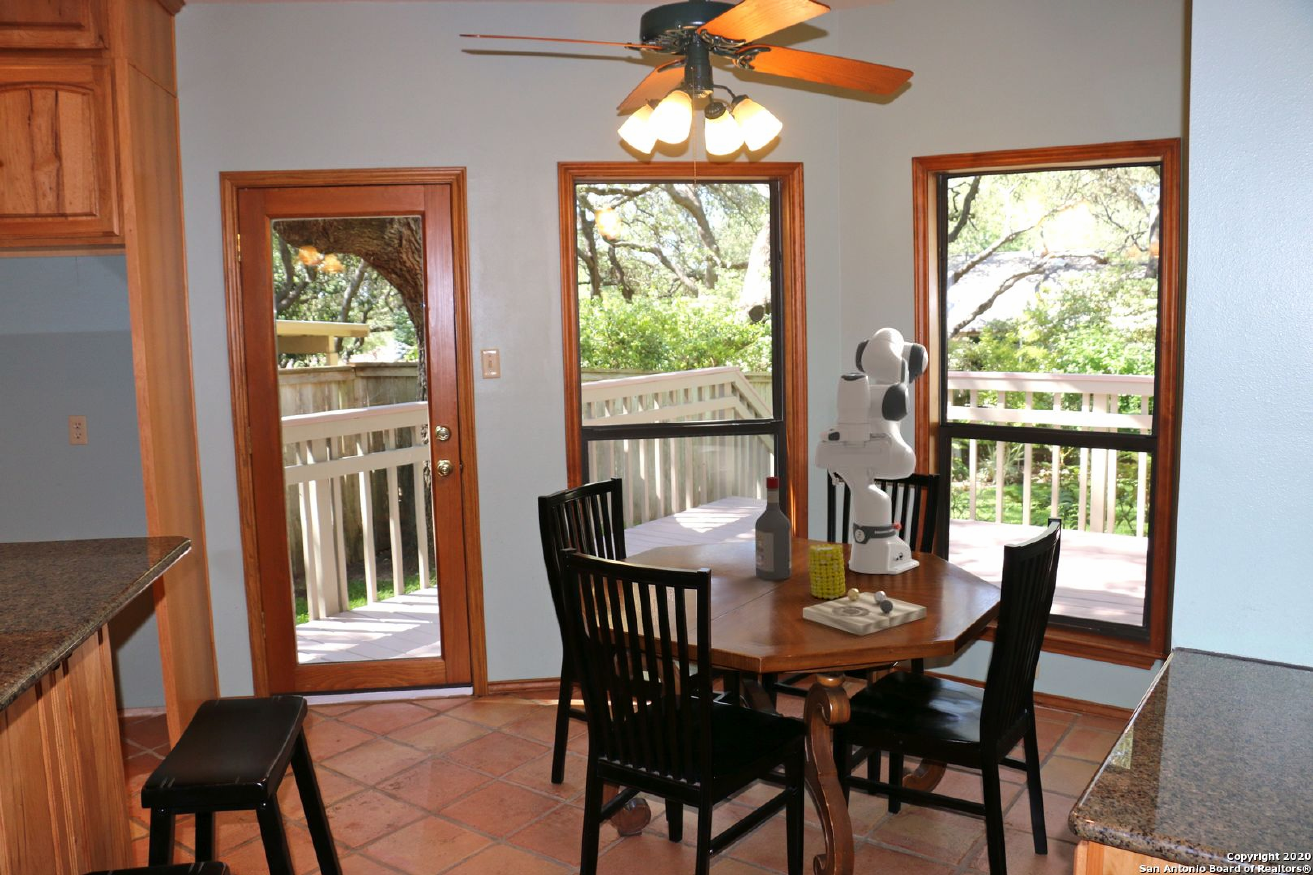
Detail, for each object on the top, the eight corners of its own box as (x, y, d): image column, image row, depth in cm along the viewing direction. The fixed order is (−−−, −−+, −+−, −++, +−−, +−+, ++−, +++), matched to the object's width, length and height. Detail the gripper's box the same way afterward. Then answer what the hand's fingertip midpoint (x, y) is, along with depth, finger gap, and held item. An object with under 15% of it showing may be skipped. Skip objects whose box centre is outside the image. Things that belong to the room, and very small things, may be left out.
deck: (866, 600, 274) (866, 591, 274) (926, 616, 258) (926, 607, 258) (802, 617, 260) (802, 608, 260) (861, 635, 244) (861, 625, 244)
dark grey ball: (885, 609, 257) (886, 597, 256) (895, 612, 254) (895, 600, 254) (877, 612, 255) (877, 599, 254) (887, 615, 252) (887, 602, 252)
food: (825, 607, 274) (805, 600, 284) (860, 592, 279) (840, 585, 288) (813, 554, 272) (793, 549, 281) (848, 540, 276) (828, 535, 286)
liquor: (768, 582, 297) (766, 480, 293) (752, 575, 305) (751, 476, 302) (794, 578, 300) (793, 478, 297) (778, 571, 309) (777, 474, 305)
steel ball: (879, 601, 265) (879, 589, 264) (889, 603, 262) (889, 591, 262) (871, 603, 263) (871, 591, 262) (880, 605, 260) (880, 593, 260)
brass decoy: (853, 598, 268) (853, 586, 268) (862, 600, 266) (862, 588, 265) (844, 600, 266) (844, 588, 266) (853, 602, 264) (853, 590, 263)
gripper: (888, 432, 275) (888, 482, 277) (814, 433, 275) (813, 483, 276) (894, 434, 269) (894, 485, 270) (818, 435, 269) (818, 486, 270)
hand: (853, 484), depth 273 cm, fingers open, 8 cm apart
